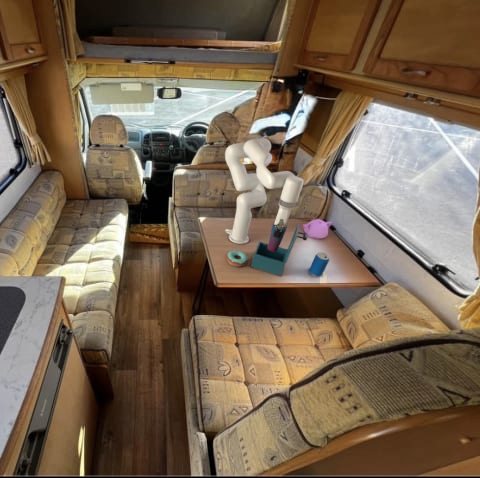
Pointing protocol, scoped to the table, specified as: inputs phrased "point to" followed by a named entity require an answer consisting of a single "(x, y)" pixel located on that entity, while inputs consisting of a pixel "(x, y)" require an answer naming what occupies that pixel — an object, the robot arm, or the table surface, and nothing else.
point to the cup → (275, 241)
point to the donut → (237, 262)
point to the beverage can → (319, 264)
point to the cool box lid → (294, 241)
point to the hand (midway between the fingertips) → (277, 233)
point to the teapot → (317, 228)
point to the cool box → (269, 259)
